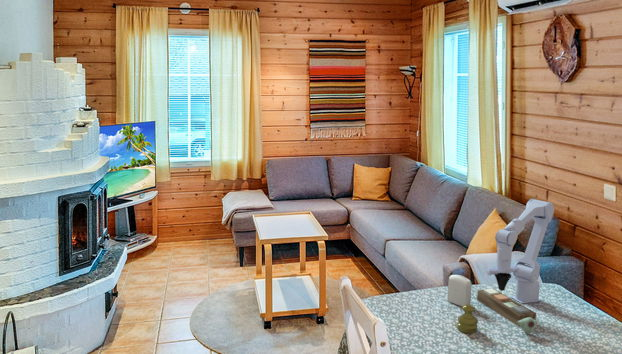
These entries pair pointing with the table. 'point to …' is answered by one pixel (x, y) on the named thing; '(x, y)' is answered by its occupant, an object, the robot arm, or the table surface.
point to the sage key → (510, 304)
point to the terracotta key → (500, 297)
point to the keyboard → (504, 307)
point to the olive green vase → (467, 320)
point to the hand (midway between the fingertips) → (501, 289)
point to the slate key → (521, 309)
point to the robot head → (528, 324)
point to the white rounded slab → (459, 290)
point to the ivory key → (491, 292)
